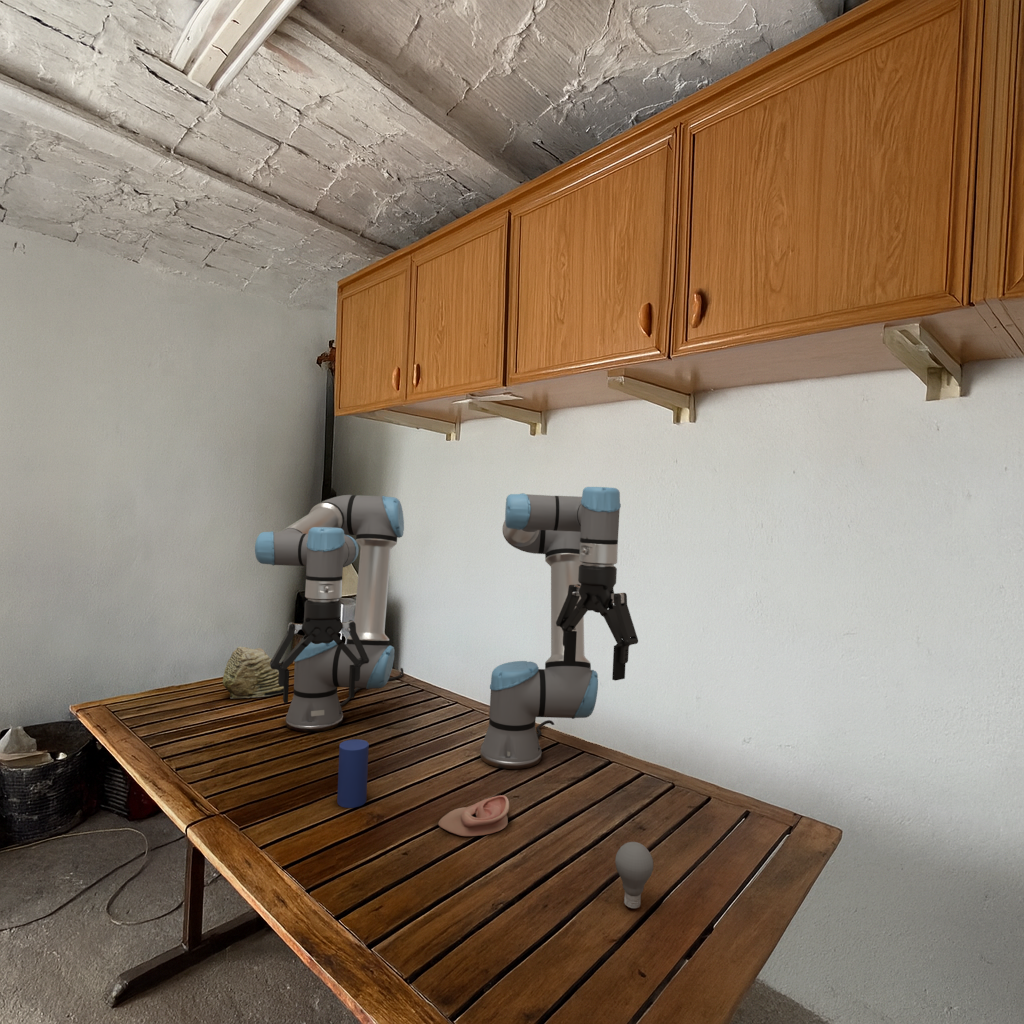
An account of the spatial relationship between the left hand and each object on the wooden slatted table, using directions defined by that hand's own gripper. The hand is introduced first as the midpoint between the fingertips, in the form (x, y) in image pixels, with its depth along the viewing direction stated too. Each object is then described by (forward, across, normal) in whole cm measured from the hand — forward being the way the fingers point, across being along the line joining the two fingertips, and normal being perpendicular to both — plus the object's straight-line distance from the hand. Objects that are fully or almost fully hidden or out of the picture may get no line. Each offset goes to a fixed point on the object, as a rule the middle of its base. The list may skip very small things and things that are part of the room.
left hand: (319, 698), depth 135 cm
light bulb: (+21, +42, -56) cm, 73 cm away
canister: (+20, +7, -6) cm, 22 cm away
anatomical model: (+20, +28, -23) cm, 41 cm away
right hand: (-11, +48, -32) cm, 59 cm away
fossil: (+19, -9, +73) cm, 76 cm away
